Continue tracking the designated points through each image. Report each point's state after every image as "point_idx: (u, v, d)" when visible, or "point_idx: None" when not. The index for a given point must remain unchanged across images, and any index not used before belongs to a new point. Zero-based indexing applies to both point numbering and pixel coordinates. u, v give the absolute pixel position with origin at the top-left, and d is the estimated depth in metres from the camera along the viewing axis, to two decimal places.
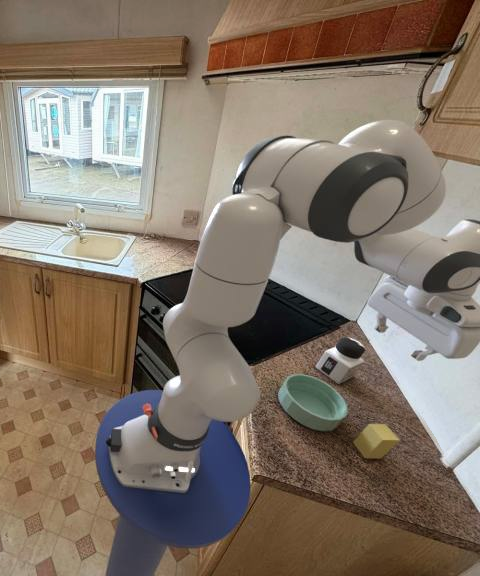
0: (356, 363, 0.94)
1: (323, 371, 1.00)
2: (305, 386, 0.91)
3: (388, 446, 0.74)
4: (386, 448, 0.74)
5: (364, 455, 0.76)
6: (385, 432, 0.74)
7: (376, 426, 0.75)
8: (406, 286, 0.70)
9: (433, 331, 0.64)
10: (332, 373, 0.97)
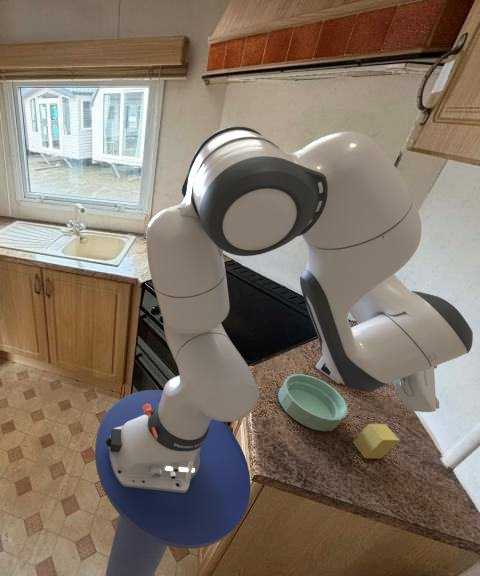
0: None
1: (323, 371, 1.00)
2: (305, 386, 0.91)
3: (388, 446, 0.74)
4: (386, 448, 0.74)
5: (364, 455, 0.76)
6: (385, 432, 0.74)
7: (376, 426, 0.75)
8: None
9: None
10: None
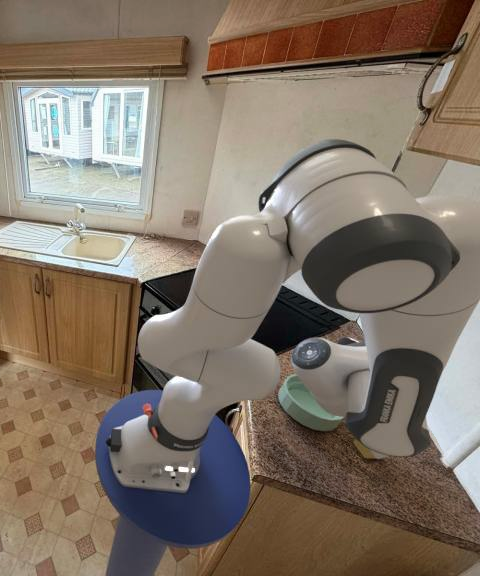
0: None
1: None
2: None
3: None
4: None
5: (364, 455, 0.76)
6: None
7: None
8: None
9: None
10: None
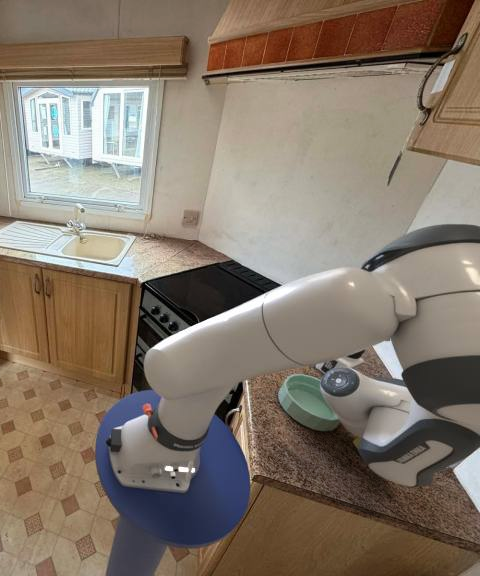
0: (356, 363, 0.94)
1: (323, 371, 1.00)
2: (305, 386, 0.91)
3: None
4: None
5: None
6: None
7: None
8: None
9: None
10: None
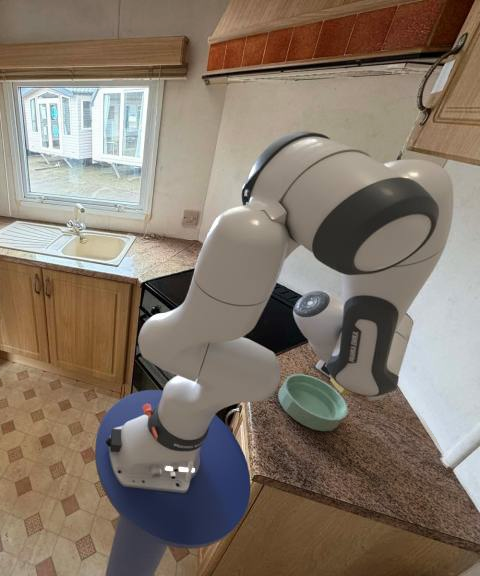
0: None
1: (323, 371, 1.00)
2: (305, 386, 0.91)
3: None
4: None
5: (340, 390, 0.77)
6: None
7: None
8: None
9: None
10: None
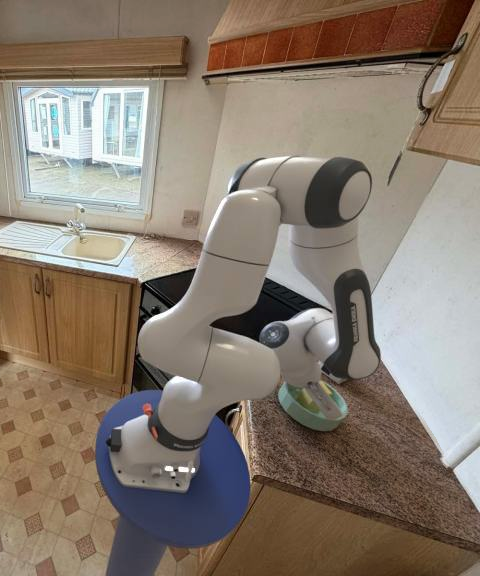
0: None
1: (323, 371, 1.00)
2: None
3: None
4: None
5: None
6: None
7: None
8: None
9: None
10: None
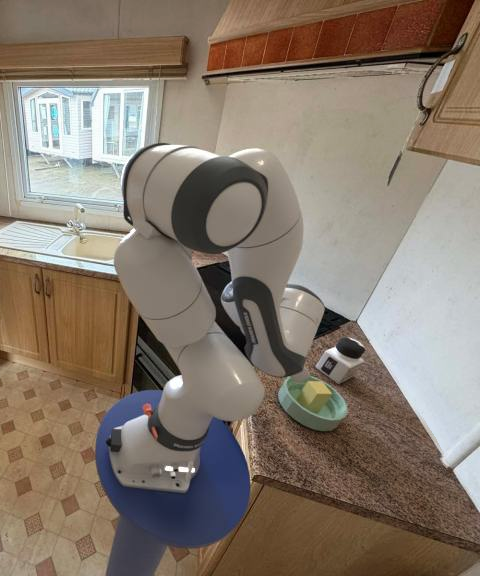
0: (356, 363, 0.94)
1: (323, 371, 1.00)
2: None
3: (323, 400, 0.83)
4: (322, 402, 0.84)
5: None
6: (320, 387, 0.83)
7: (313, 382, 0.85)
8: None
9: None
10: (332, 373, 0.97)
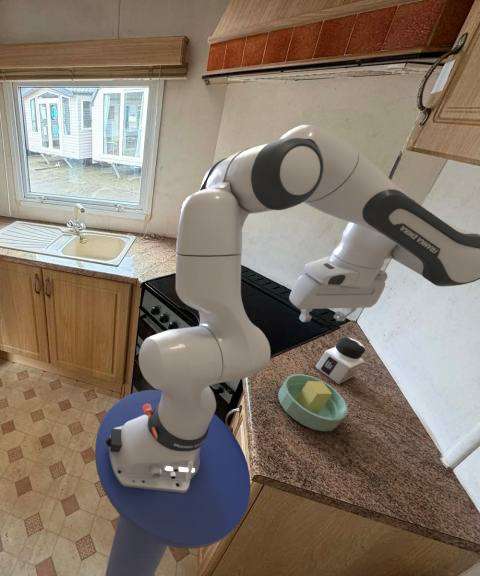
0: (356, 363, 0.94)
1: (323, 371, 1.00)
2: None
3: (323, 400, 0.83)
4: (322, 402, 0.84)
5: None
6: (320, 387, 0.83)
7: (313, 382, 0.85)
8: None
9: None
10: (332, 373, 0.97)
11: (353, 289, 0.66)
